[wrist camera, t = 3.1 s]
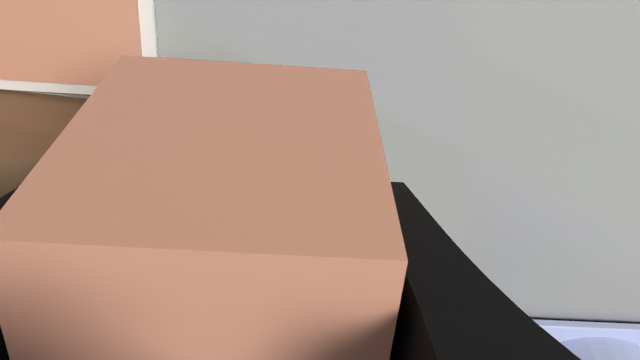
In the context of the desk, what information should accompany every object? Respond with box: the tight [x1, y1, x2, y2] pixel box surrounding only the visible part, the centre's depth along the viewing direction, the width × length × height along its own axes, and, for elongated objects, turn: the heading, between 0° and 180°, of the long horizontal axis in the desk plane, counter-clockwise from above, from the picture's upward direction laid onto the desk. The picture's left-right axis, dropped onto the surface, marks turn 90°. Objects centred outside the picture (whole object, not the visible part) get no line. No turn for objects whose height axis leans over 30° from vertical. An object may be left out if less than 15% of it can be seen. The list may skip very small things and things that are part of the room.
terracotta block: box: [0, 55, 408, 360], centre depth 9 cm, size 4×4×5 cm
